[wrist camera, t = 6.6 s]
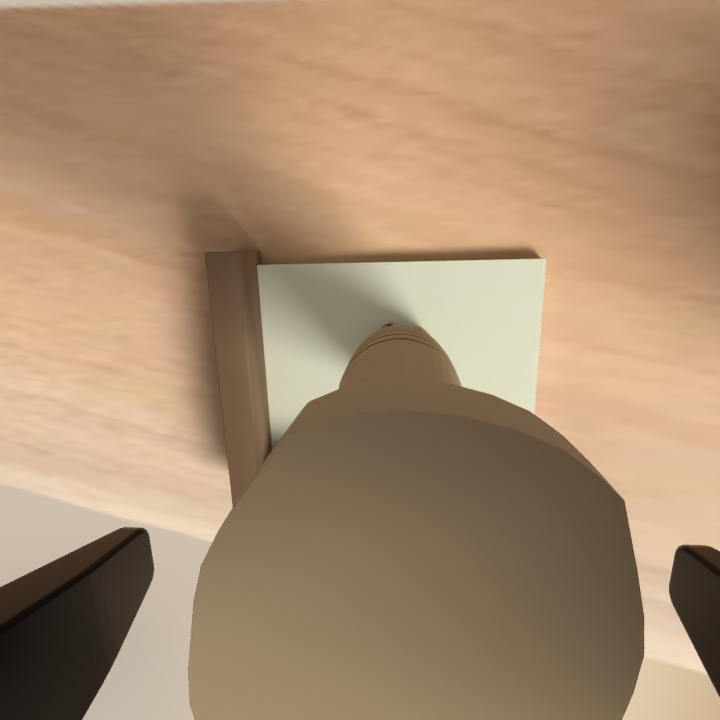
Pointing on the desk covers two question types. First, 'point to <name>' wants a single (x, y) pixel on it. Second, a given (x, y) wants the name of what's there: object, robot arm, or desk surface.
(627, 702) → the handle
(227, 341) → the walls
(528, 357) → the pad
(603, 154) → the desk surface
